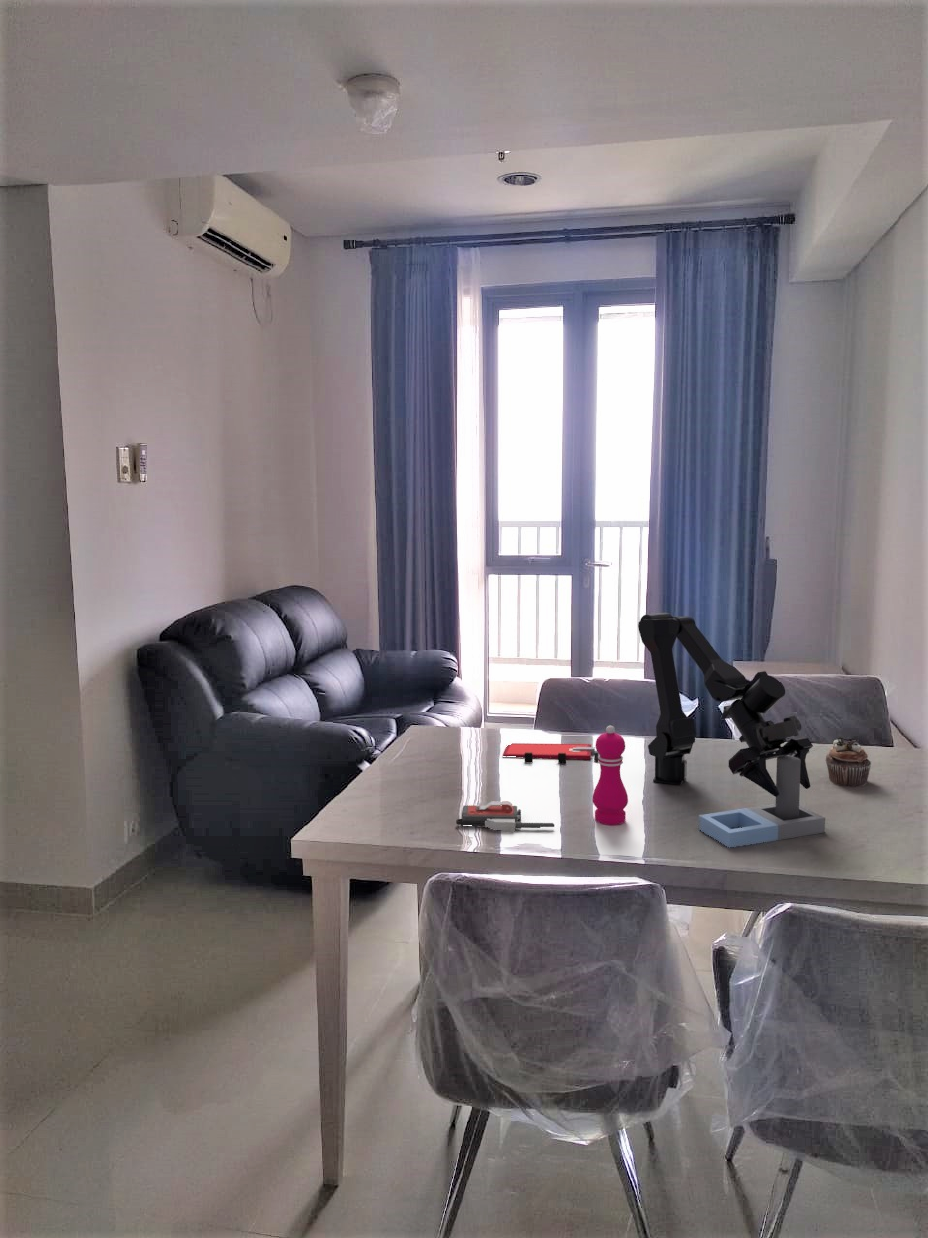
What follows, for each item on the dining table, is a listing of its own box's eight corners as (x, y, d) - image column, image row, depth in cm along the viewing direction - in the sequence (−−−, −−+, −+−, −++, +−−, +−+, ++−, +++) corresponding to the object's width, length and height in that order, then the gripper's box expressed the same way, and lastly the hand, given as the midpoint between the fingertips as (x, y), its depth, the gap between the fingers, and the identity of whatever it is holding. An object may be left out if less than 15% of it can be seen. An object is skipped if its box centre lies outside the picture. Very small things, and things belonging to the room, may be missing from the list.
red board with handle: (620, 765, 216) (619, 749, 231) (620, 754, 216) (619, 739, 230) (501, 764, 221) (507, 748, 236) (500, 753, 221) (507, 738, 235)
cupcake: (875, 789, 195) (877, 745, 194) (829, 787, 197) (831, 744, 196) (864, 775, 204) (866, 734, 203) (821, 774, 206) (822, 733, 205)
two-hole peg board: (728, 848, 164) (729, 833, 163) (698, 829, 173) (699, 815, 173) (824, 832, 171) (825, 817, 170) (790, 815, 180) (791, 801, 180)
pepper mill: (630, 815, 182) (630, 722, 179) (625, 827, 175) (625, 731, 172) (596, 812, 184) (596, 720, 181) (589, 824, 177) (589, 729, 175)
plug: (773, 829, 173) (775, 761, 171) (776, 821, 177) (778, 755, 175) (797, 832, 171) (799, 763, 169) (799, 824, 175) (801, 757, 173)
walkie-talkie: (455, 833, 175) (554, 834, 174) (454, 812, 175) (554, 812, 173) (458, 817, 184) (553, 818, 182) (458, 797, 183) (553, 797, 182)
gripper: (740, 709, 170) (783, 779, 161) (806, 698, 178) (851, 763, 170) (710, 739, 178) (750, 807, 169) (775, 727, 186) (816, 791, 178)
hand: (793, 791), depth 171 cm, fingers open, 8 cm apart
